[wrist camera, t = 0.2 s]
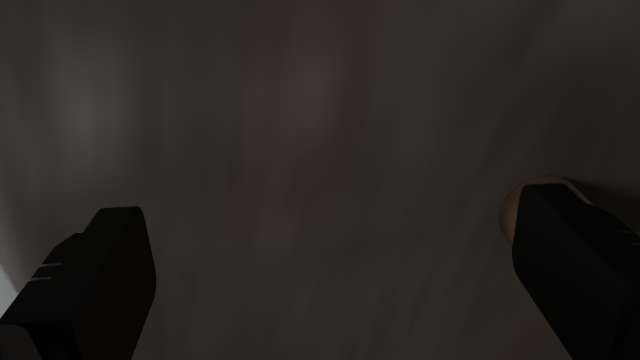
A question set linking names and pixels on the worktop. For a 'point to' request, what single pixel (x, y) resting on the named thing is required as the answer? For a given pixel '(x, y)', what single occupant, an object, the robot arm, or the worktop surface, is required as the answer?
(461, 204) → the worktop surface
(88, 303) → the robot arm
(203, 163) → the worktop surface
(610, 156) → the worktop surface
